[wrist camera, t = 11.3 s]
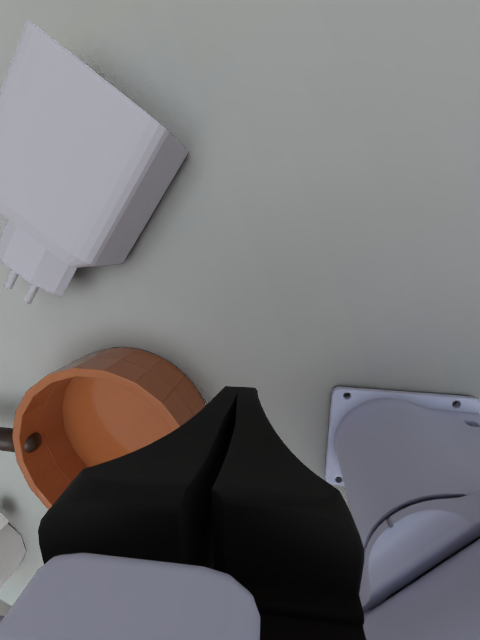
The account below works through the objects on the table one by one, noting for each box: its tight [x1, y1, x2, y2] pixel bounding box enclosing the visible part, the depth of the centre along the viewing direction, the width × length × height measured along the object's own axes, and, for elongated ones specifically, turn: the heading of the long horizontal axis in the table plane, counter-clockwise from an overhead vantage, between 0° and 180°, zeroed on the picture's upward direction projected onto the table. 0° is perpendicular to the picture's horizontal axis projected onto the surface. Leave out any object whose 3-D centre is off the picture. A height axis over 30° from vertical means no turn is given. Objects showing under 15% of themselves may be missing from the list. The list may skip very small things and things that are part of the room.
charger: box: [0, 20, 188, 304], centre depth 18 cm, size 5×9×15 cm
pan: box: [12, 348, 205, 509], centre depth 22 cm, size 14×14×4 cm
